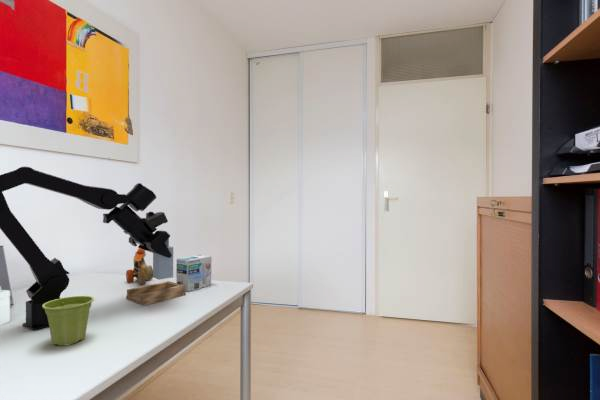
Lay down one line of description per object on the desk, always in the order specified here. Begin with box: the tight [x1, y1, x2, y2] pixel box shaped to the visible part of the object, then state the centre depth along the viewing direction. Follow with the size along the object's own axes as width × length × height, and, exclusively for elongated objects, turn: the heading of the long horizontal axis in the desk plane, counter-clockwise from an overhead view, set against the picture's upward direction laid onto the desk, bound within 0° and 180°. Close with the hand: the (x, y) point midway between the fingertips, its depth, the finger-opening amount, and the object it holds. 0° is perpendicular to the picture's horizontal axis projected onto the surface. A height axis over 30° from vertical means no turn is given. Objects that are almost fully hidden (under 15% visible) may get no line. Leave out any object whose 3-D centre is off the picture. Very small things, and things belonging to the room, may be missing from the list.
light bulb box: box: [176, 254, 212, 292], centre depth 120 cm, size 11×7×11 cm, turn 147°
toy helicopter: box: [125, 247, 154, 285], centre depth 123 cm, size 8×21×14 cm, turn 38°
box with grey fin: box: [152, 237, 174, 280], centre depth 106 cm, size 4×4×12 cm
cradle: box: [126, 280, 187, 307], centre depth 108 cm, size 14×11×3 cm
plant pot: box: [42, 295, 95, 346], centre depth 75 cm, size 9×9×9 cm
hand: (167, 255), depth 107 cm, fingers closed on box with grey fin, 4 cm apart
